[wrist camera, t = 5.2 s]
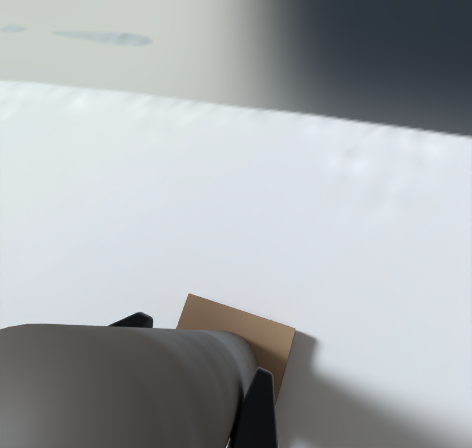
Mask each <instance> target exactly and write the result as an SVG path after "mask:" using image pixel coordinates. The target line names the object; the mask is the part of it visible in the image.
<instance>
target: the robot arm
mask: <svg viewBox="0 0 472 448" xmlns="http://www.w3.org/2000/svg"><path fill="white" fill-rule="evenodd" d="M109 326H112V327H136V328H153V318H152V317H151V316H149V315H147V314H144V313H142V312H138V313H135V314H133V315H131V316H128V317H126V318H124V319H122V320H120V321H117V322H115V323H113V324H111V325H109ZM227 448H278V440H277V426H276V411H275V397H274V382H273V374H272V373H271V372H270V371H267V370H265V369H263V368H261V367H258V368H257V369H256V371H255V373H254V376H253V378H252V381H251V383H250V386H249V388H248V391H247V393H246V395H245V398H244V400H243V403H242V405H241V408H240V411H239V414H238V417H237V420H236V423H235V426H234V429H233V432H232V435H231V438H230V441H229V444H228V447H227Z"/></svg>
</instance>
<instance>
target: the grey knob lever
mask: <svg viewBox="0 0 472 448" xmlns="http://www.w3.org/2000/svg"><path fill="white" fill-rule="evenodd" d="M294 333H295V328H292V327H289V326H286V325H283V324H280V323H277V322H274V321H271V320H268V319H265V318H262V317H259V316H256V315H253V314H250V313H247V312H244V311H241V310H238V309H235V308H232V307H229V306H226V305H223V304H220V303H217V302H214V301H211V300H208V299H205V298H202V297H199V296H195V295H192V294H188V297H187V300H186V303H185V305H184V308H183V311H182V314H181V317H180V319H179V322H178V325H177V328H176V329H160V328H136V327H112V326H87V325H63V324H24V325H18V326H12V327H7V328H4V329H1V330H0V448H226V446H227V444H228V442H229V441H230V438H231V435H232V432H233V429H234V426H235V423H236V420H237V417H238V414H239V411H240V408H241V405H242V403H243V400H244V398H245V395H246V393H247V391H248V388H249V386H250V383H251V381H252V378H253V376H254V373H255V371H256V369H257V368H258V367H261V368H263V369H265V370H267V371H270V372H271V373H272V374H273V382H274V397H275V405H276V401H277V397H278V394H279V390H280V386H281V382H282V378H283V375H284V371H285V367H286V363H287V360H288V356H289V352H290V348H291V344H292V341H293V337H294Z"/></svg>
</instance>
